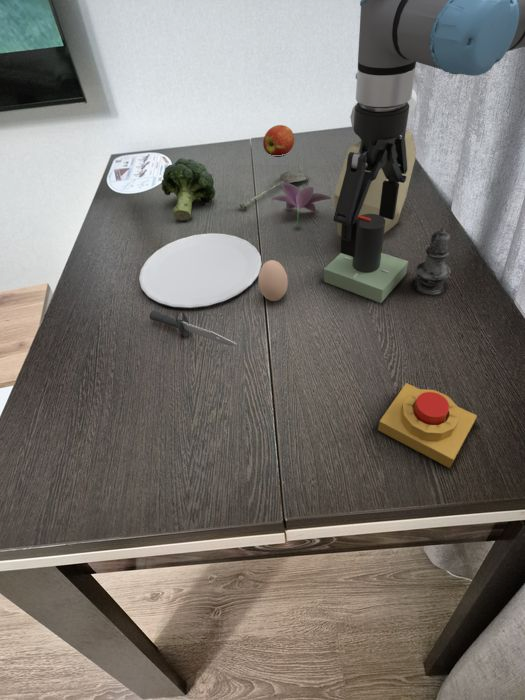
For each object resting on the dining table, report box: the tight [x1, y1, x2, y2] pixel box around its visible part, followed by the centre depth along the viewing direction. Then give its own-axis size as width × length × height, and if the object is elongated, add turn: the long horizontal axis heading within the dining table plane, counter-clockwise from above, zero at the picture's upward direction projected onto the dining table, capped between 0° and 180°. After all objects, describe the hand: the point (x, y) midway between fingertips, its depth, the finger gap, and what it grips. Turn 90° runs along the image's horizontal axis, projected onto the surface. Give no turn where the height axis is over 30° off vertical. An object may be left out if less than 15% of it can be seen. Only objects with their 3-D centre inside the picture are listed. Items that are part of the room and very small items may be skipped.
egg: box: [257, 259, 289, 302], centre depth 78 cm, size 5×5×8 cm
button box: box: [377, 382, 478, 469], centre depth 58 cm, size 10×8×4 cm
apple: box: [262, 124, 295, 158], centre depth 122 cm, size 8×8×8 cm
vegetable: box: [161, 157, 216, 222], centre depth 105 cm, size 12×13×15 cm
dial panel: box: [323, 252, 409, 304], centre depth 82 cm, size 12×10×3 cm
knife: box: [148, 310, 239, 346], centre depth 74 cm, size 19×2×5 cm, turn 58°
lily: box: [271, 181, 332, 229], centre depth 97 cm, size 12×12×10 cm
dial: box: [352, 214, 385, 273], centre depth 78 cm, size 5×5×9 cm
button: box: [414, 392, 449, 425], centre depth 56 cm, size 4×4×2 cm
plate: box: [138, 233, 263, 309], centre depth 89 cm, size 25×25×1 cm
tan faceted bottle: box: [333, 88, 418, 237], centre depth 84 cm, size 12×24×28 cm, turn 137°
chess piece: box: [413, 226, 452, 296], centre depth 76 cm, size 6×6×12 cm
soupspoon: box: [239, 170, 308, 211], centre depth 109 cm, size 22×3×7 cm
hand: (368, 234), depth 77 cm, fingers open, 13 cm apart
